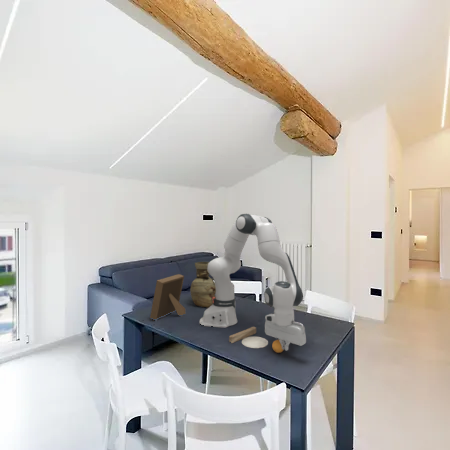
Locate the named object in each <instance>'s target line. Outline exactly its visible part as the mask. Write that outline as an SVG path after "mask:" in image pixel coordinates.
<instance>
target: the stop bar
mask: <svg viewBox="0 0 450 450" xmlns="http://www.w3.org/2000/svg"><path fill="white" fill-rule="evenodd" d="M255 334H257V327H255V326H251V327H248V328H247V329H244V330H242V331H239V332H236V333H234V334H231V335H229V336H228V342H229V343H230V342H231V343H230V344H233V343H236V342H238V341H242V340H243V339H244V338H247V337H252V336H253V335H255Z"/></svg>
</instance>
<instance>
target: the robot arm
mask: <svg viewBox="0 0 450 450" xmlns="http://www.w3.org/2000/svg"><path fill="white" fill-rule="evenodd" d="M249 236H256V238H257V247H258V252H259V256H260V257H261V258H262V259H263V260H265V261H266V262H270V263H272V264H275V265H277V266H279V267H280V268H281V269H282V270H283V272H284V273H283V274H284V277H285V279H286V281H283V280H281V281H280V280H279V281H276V282H275V283H274V284H273V285H271V286H268V287H267V288H266V289H265V290H264V291H263V292H264V293H263V297H264V298H263V299H264V303H265V305H267V306H268V307H272V308H274V310H273V312H272V313H269V314H266V315H265V316H264V317H265V318H264V321H265V322H264V333H265V335H267V336H269V337H272V338H275V339H277V340H279V341H280V343H281V345H282V349H283V351H287V352H288V351H289V346H290V344H293V345H297V346H300V347H301V346H303V345H305V344H306V343H307V336H306V328H305V325H303V323H301V322H298V321H295V310H294V307H297V306H298V307H299V305H301V303H302V302H303V300H304V294H303V290H302V288H301V285H300V283H299V282H298V281H299V280H298V279H297V275H296V272H295V270H294V266H293V264H292V261H291V258H290V255H289V254H288V252H287V253H286V252H285V251H284V249H283V247H282V245H281V242H280V241H281V240H280V237H279V232H278V229H277V227H276V225H275V224H274V223H273V222H272V220H271V219H270V218H269V217H266V216H262V215H258V214H249V213H242V214H240V215H239V216H238V217H237V218H236V221H234V223H233V225H232V226H231V228H230V230H229V232H228V233H227V237H226V239H225V241H224V244H223V249H224V253H223V255H222V256H220V257H215V258H214V259H212V260H210V261H208V262H209V264H208V272H209V276H211V277H212V279H213V281H214V282H215V286H216V293H215V297H216V298H215V297H213V299H212V300H213V305H211V306H210V307H208V308H206V309H205V310H204V312H203V316H202V317H201V318H200V319H199V325H200V324H201V325H204V326H203V327H211V326H213V327H214V328H229V327H230V326H231V327H232V326H234V325H236V324H237V323H238V319H237V318H238V317H237V313H236V298H235V285H234V283H233V282H232V280H231V276H230V275H231V274H235V273H236V272H237V271H239V270H240V269H241V265H242V262H241V254H242V252H243V249H244V247H245V246H246V244H247V243H246V242H247V241H248V238H249ZM201 325H200V326H201ZM213 327H212V328H213Z"/></svg>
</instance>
